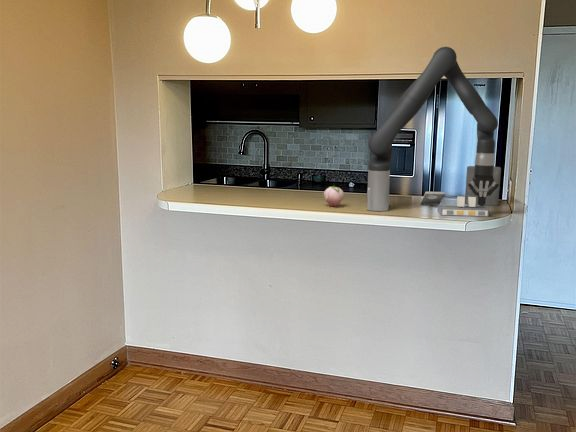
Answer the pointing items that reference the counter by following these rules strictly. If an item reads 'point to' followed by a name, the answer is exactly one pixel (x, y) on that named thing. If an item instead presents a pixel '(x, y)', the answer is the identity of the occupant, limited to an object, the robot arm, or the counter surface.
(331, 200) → the decorative fruit
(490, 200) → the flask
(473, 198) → the slider right
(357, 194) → the counter surface
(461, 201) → the slider left
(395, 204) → the counter surface
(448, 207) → the switch unit
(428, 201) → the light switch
